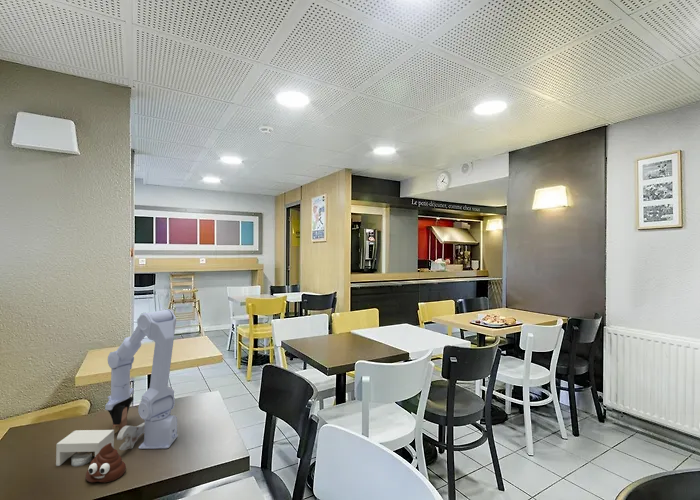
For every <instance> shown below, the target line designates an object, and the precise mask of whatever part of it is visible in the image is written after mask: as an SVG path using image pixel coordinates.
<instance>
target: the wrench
mask: <svg viewBox="0 0 700 500" xmlns="http://www.w3.org/2000/svg"><path fill="white" fill-rule="evenodd" d="M144 425H145V421H143V422H142V423H140V424H139V425H137V426H135V425H134V426H133V425H127V426H124V427H123V428H122V429H121V430H119V431H118V432H117V433H118V434H117V436H116V440H117V441H123V439H124V438H125V440H124V442H123V443H121V444H120V446H119V448H118V449H119V451H127V450H129V449H130V450H132V449H133V448H134V446H135V443H136V442H137V441H138V439H139V437H140V436H141V435H142V434H144Z"/></svg>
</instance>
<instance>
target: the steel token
mask: <svg viewBox="0 0 700 500" xmlns="http://www.w3.org/2000/svg"><path fill="white" fill-rule="evenodd" d="M70 459H71V460H70V462H71V463H70V464H71V466H72V467H81V466H85V465H87V464H88V463H91V461H92V460H93V456H92V452H79V453H78V452H76V453H74V454H73V455H72V456H71V457H70Z"/></svg>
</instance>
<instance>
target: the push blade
mask: <svg viewBox="0 0 700 500" xmlns="http://www.w3.org/2000/svg"><path fill="white" fill-rule="evenodd" d="M124 426H128V414H127V407H124V409H123V412H122V419H121V423H120V424H113V423H112V429H111V430H114V435H115V434H116V433H119V431H120V430H121V429H122V428H123V427H124ZM77 453H79V452H77ZM92 457H95V452H92Z"/></svg>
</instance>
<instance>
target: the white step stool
mask: <svg viewBox="0 0 700 500" xmlns="http://www.w3.org/2000/svg"><path fill="white" fill-rule="evenodd" d="M109 443H111V445H112V447H113V449H115V434H114V430H112V429H91V430H90V429H86V430H85V429H84V430H83V429H82V430H81V429H79V430H77V429H76V430H73V431H72V432H71V433H70V434H68V435H66V437H63V439H61V440H59V441H58V442H57V443H56V447H55V448H56V450H55V451H56V454H55V456H56V457H55V460H56V462H55V466H56V467H59V466H61V465H62V464H64V463H65V462H66V461H67V460H69V459H71V458H72V456H73V455H75V454H77V453H78V452H95V456H96V455H97V454H98V453H99V452H100V450H101V449H102V448H103V447H104V446H105V445H107V444H109ZM95 456H94V457H95Z"/></svg>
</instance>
